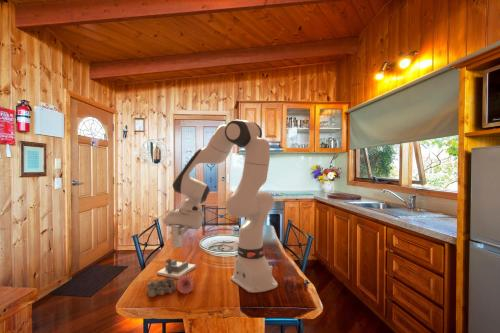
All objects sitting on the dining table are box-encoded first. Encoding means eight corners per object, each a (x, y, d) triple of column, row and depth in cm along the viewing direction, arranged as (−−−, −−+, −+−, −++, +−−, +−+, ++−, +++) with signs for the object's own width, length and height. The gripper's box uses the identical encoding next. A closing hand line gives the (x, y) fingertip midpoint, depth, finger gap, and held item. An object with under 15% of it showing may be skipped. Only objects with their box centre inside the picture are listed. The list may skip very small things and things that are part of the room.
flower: (175, 273, 110) (180, 269, 106) (193, 278, 113) (198, 274, 109) (170, 293, 104) (175, 290, 101) (189, 298, 107) (194, 295, 104)
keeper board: (175, 263, 135) (175, 248, 135) (195, 267, 131) (195, 251, 131) (155, 275, 121) (155, 258, 121) (177, 279, 117) (177, 262, 117)
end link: (182, 245, 128) (182, 225, 127) (177, 247, 124) (177, 226, 124) (176, 244, 129) (176, 224, 129) (171, 246, 126) (171, 226, 125)
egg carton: (147, 298, 101) (147, 288, 101) (146, 289, 108) (146, 280, 108) (175, 293, 106) (175, 283, 105) (173, 285, 112) (173, 275, 112)
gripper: (168, 205, 136) (155, 228, 127) (202, 208, 129) (191, 233, 120) (173, 212, 141) (161, 235, 132) (207, 215, 133) (196, 240, 124)
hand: (176, 234), depth 126 cm, fingers closed on end link, 4 cm apart
